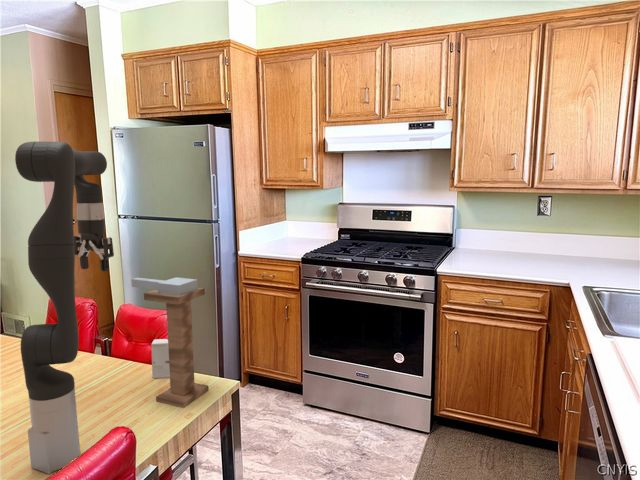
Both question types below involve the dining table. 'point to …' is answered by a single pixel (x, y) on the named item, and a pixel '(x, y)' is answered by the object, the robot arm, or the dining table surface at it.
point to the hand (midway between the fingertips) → (94, 269)
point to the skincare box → (160, 359)
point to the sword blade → (167, 285)
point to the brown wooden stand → (179, 348)
